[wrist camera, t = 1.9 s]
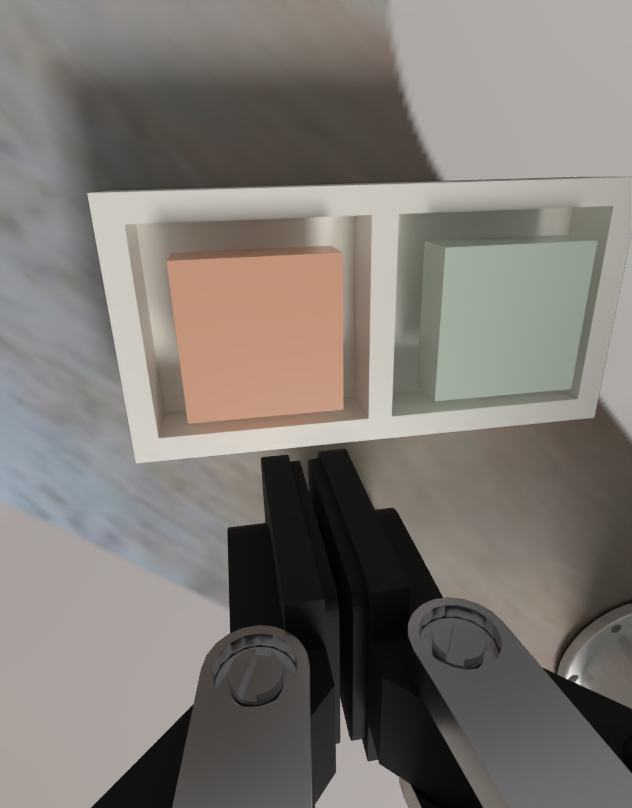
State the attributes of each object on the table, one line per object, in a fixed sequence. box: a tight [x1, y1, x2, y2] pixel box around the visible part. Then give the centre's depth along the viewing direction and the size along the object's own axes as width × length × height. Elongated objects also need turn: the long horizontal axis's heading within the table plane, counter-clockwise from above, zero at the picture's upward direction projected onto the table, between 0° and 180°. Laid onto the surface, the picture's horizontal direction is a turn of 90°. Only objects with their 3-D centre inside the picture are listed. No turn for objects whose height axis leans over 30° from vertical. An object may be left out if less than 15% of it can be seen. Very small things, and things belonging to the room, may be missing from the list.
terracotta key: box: [166, 246, 343, 424], centre depth 24 cm, size 7×7×2 cm
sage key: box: [417, 235, 598, 401], centre depth 25 cm, size 7×7×2 cm
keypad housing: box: [87, 177, 632, 463], centre depth 27 cm, size 24×12×4 cm, turn 91°
